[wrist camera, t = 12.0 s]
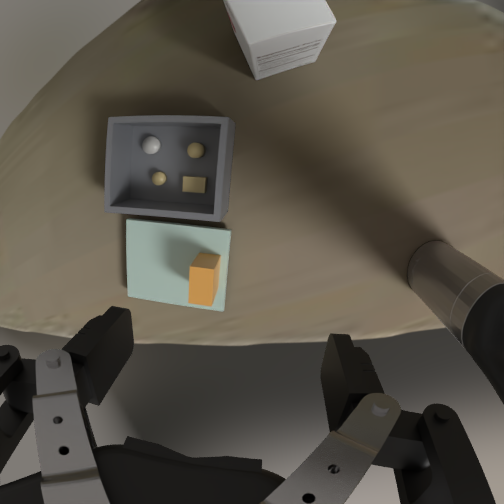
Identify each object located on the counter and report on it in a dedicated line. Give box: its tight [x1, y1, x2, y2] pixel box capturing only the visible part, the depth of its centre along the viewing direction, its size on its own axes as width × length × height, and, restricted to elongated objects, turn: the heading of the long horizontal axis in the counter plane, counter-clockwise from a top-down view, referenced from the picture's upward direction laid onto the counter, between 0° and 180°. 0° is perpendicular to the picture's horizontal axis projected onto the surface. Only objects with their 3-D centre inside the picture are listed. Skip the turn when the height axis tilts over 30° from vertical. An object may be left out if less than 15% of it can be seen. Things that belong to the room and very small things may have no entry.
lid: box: [126, 218, 231, 311], centre depth 42 cm, size 15×12×8 cm
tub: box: [105, 115, 236, 222], centre depth 38 cm, size 15×12×7 cm
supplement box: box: [223, 0, 336, 80], centre depth 28 cm, size 9×9×15 cm
